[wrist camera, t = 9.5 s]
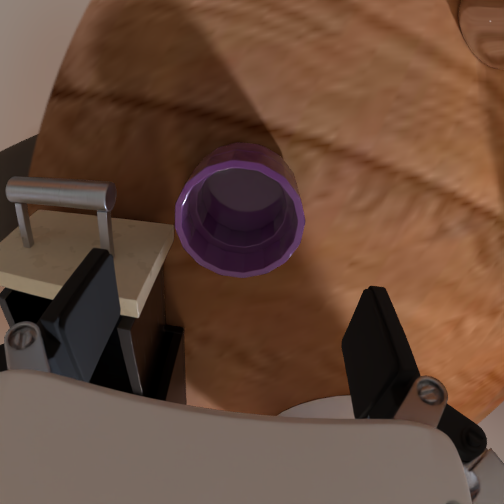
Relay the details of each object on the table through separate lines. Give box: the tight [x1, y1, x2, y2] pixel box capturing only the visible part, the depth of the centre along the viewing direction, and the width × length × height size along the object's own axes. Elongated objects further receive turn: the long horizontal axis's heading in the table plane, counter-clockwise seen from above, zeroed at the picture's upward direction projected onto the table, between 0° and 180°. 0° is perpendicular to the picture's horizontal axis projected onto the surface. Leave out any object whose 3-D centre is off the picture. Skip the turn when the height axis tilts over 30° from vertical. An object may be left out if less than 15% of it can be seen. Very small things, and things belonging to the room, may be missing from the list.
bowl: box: [175, 142, 305, 278], centre depth 19 cm, size 7×7×5 cm
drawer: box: [0, 176, 174, 399], centre depth 20 cm, size 18×11×8 cm, turn 172°
